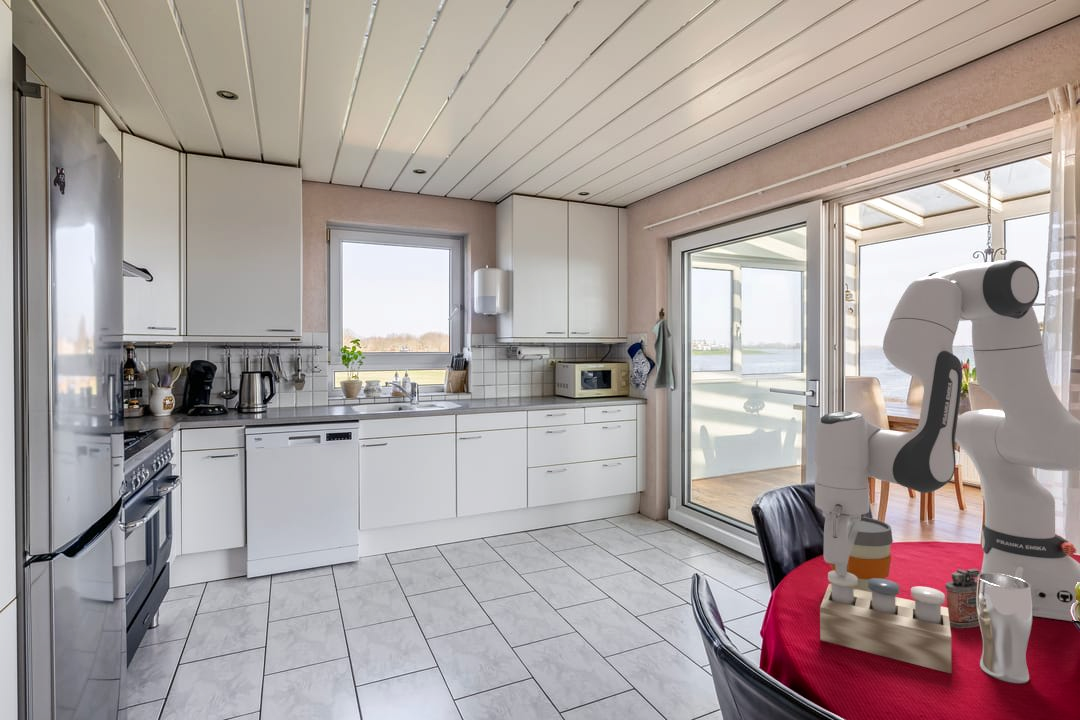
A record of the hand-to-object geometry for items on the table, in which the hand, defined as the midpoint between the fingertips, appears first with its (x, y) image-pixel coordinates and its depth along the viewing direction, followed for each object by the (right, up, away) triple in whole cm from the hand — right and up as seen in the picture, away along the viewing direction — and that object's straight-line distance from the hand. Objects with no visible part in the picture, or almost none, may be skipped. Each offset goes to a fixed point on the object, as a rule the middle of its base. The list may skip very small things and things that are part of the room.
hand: (841, 573), depth 102 cm
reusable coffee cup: (+12, -11, +16) cm, 23 cm away
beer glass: (+19, -11, -14) cm, 26 cm away
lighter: (+25, -11, +2) cm, 27 cm away
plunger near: (+11, -7, -7) cm, 15 cm away
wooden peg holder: (+6, -11, -4) cm, 13 cm away
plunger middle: (+6, -7, -4) cm, 10 cm away
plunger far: (0, -7, 0) cm, 7 cm away
